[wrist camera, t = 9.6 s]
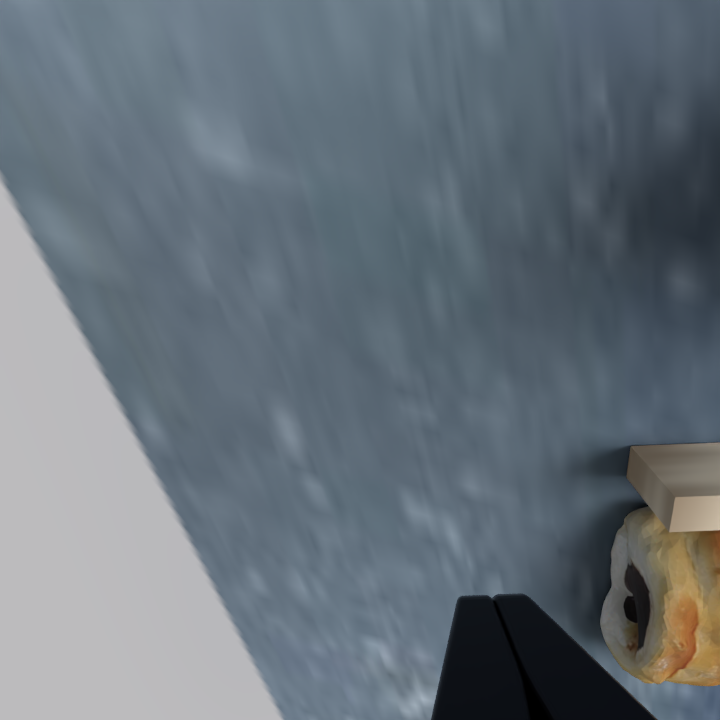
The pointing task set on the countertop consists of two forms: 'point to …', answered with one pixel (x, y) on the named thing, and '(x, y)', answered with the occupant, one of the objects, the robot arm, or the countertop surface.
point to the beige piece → (679, 483)
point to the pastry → (664, 602)
